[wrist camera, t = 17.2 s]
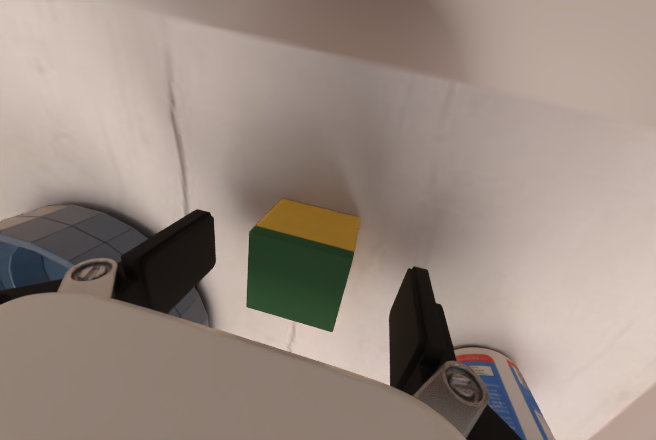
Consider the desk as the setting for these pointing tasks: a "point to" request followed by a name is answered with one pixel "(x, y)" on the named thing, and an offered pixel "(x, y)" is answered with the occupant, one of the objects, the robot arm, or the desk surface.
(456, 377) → the robot arm
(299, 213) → the sponge
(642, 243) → the desk surface
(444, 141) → the desk surface
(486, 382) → the pill bottle
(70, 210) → the bowl
